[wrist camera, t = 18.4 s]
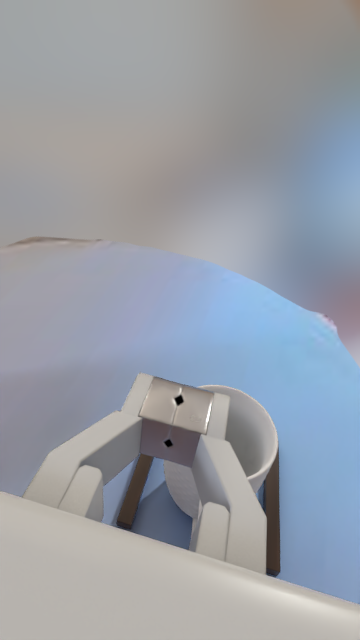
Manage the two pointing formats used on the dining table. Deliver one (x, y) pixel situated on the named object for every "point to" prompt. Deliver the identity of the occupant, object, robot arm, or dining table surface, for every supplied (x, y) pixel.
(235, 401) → the mug
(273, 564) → the bay rails
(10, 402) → the dining table surface
